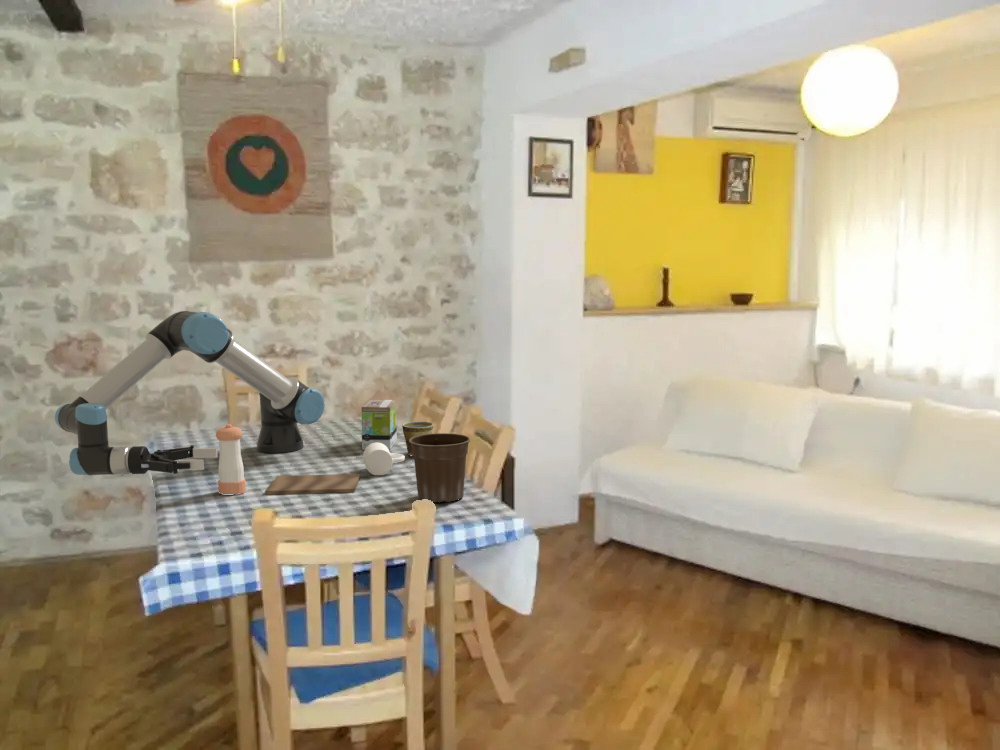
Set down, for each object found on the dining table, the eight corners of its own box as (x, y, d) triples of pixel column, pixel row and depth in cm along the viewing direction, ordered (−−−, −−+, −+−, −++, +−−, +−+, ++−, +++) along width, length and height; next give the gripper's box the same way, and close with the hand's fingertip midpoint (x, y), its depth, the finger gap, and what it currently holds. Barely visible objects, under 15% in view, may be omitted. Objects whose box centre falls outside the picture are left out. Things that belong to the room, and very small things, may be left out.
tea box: (391, 450, 293) (390, 406, 290) (361, 450, 293) (359, 406, 291) (397, 440, 307) (396, 398, 305) (368, 440, 308) (367, 398, 306)
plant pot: (428, 486, 248) (426, 430, 245) (480, 492, 242) (479, 434, 239) (399, 502, 233) (398, 442, 231) (455, 508, 227) (454, 447, 224)
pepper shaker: (250, 489, 247) (246, 421, 244) (239, 496, 240) (236, 427, 237) (224, 488, 248) (221, 421, 245) (214, 495, 241) (210, 426, 238)
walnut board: (266, 494, 242) (265, 490, 241) (277, 479, 257) (276, 475, 257) (354, 492, 243) (354, 488, 243) (360, 477, 259) (359, 473, 259)
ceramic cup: (433, 458, 281) (433, 427, 280) (402, 458, 281) (401, 428, 279) (434, 448, 294) (433, 419, 293) (403, 449, 293) (403, 420, 292)
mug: (366, 476, 260) (365, 450, 258) (363, 468, 269) (362, 443, 268) (406, 474, 262) (406, 447, 261) (403, 466, 272) (402, 440, 271)
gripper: (147, 462, 254) (222, 460, 255) (115, 486, 229) (198, 483, 230) (145, 437, 252) (221, 435, 254) (112, 457, 228) (196, 455, 229)
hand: (210, 458), depth 242 cm, fingers open, 13 cm apart
